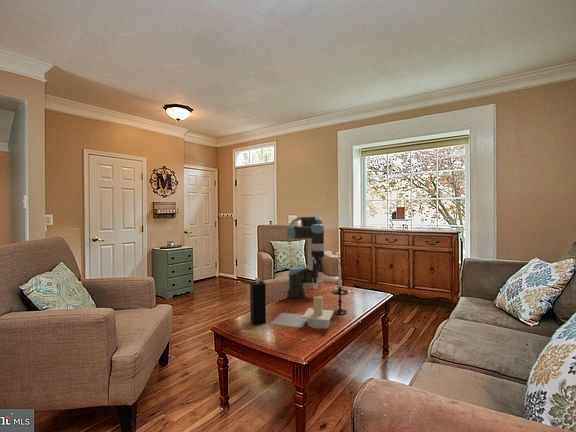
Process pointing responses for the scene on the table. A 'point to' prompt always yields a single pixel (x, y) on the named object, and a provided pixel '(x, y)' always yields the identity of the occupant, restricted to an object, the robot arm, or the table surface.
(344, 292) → the candlestick
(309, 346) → the table surface
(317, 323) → the bowl
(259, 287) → the black block
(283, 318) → the mat
